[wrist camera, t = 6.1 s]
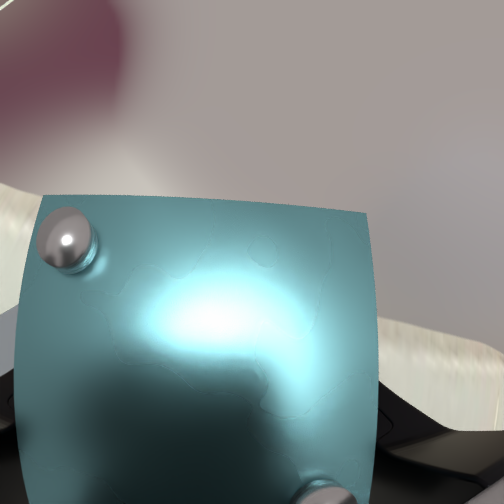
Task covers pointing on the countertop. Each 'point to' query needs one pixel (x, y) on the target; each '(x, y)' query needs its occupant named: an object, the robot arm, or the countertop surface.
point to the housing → (196, 353)
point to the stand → (7, 339)
